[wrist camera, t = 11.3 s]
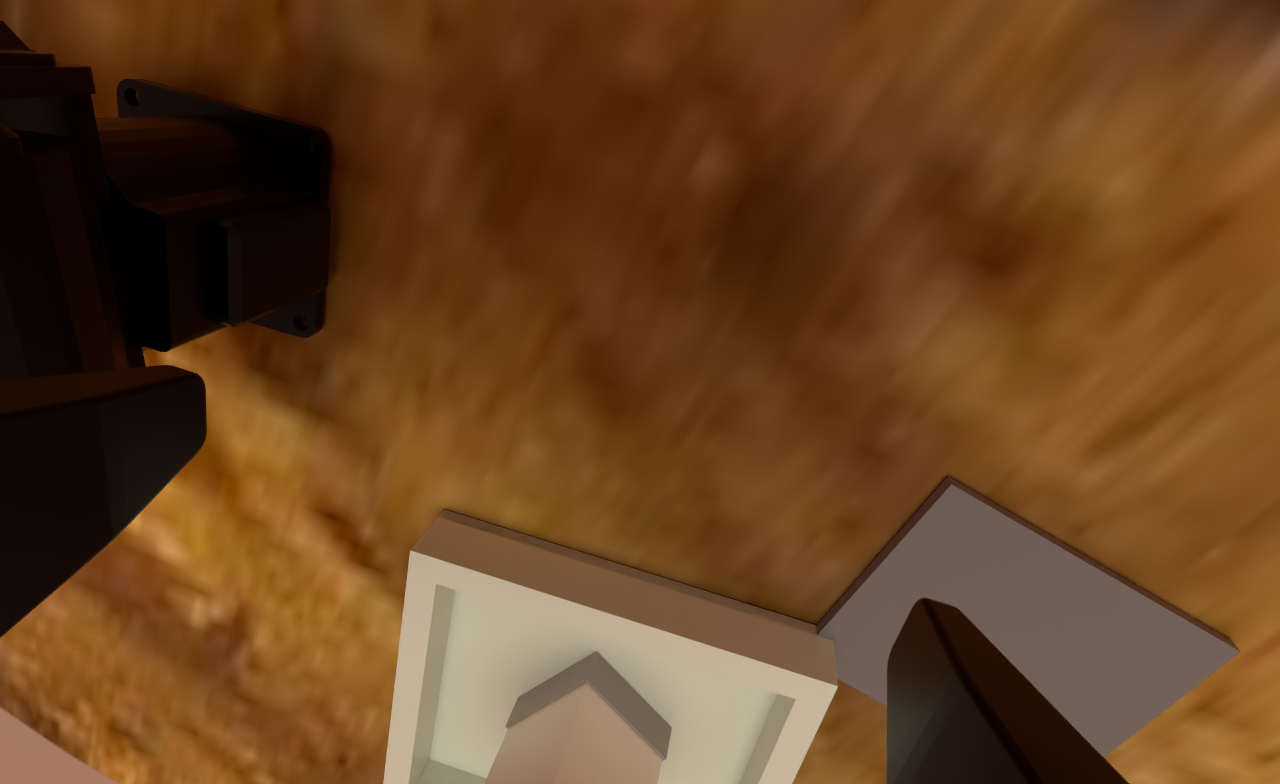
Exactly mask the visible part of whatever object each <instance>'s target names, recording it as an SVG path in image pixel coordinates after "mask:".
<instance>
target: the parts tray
mask: <svg viewBox="0 0 1280 784" xmlns="http://www.w3.org/2000/svg"><path fill="white" fill-rule="evenodd" d="M595 651H597V652H598V653H599V654H600V655H601V656H602V657H603V658H604V659H605V660H606V661H607V662H608V663H609V664H610V665H611V666H612V667H613V668H614V669H615V670H616V671H617V672H618V673H619V674H620V675H621V676H622V677H623V678H624V679H625V680H626V681H627V682H628V683H629V684H630V685H631V686H632V687H633V688H634V689H635V690H636V691H637V692H638V693H639V694H640V695H641V696H642V697H643V698H644V699H645V700H646V701H647V703H648V704H649V705H650V706H651V707H652V708H653V709H654V710H655V711H656V712H657V713H658V714H659V715H660V716H661V717H662V718H663V719H664V720H665V721H666V722H667V723H668V724H669V725H670V726H671V727H672V730H671V735H670V741H669V746H668V752H667V758H666V760H664V761H662V762H661V768H660V773H659V779H658V784H792V783H793V780H794V778H795V776H796V774H797V772H798V770H799V768H800V766H801V764H802V761H803V759H804V757H805V755H806V753H807V751H808V749H809V747H810V745H811V742H812V740H813V738H814V736H815V734H816V732H817V730H818V728H819V726H820V723H821V721H822V719H823V717H824V715H825V713H826V711H827V709H828V707H829V704H830V702H831V700H832V698H833V696H834V694H835V692H836V690H837V688H838V680H837V669H836V657H835V646H834V641H833V640H830V639H826V638H823V637H820V636H817V627H816V625H814V624H810V623H807V622H804V621H801V620H797V619H794V618H791V617H788V616H785V615H781V614H778V613H775V612H772V611H769V610H765V609H762V608H759V607H756V606H753V605H749V604H746V603H743V602H740V601H737V600H733V599H730V598H727V597H724V596H721V595H717V594H714V593H711V592H708V591H705V590H701V589H698V588H695V587H692V586H689V585H685V584H682V583H679V582H676V581H672V580H669V579H666V578H663V577H660V576H656V575H653V574H650V573H647V572H644V571H640V570H637V569H634V568H631V567H628V566H624V565H621V564H618V563H615V562H612V561H608V560H605V559H602V558H599V557H596V556H592V555H589V554H586V553H583V552H580V551H576V550H573V549H570V548H567V547H563V546H560V545H557V544H554V543H551V542H547V541H544V540H541V539H538V538H535V537H531V536H528V535H525V534H522V533H519V532H515V531H512V530H509V529H506V528H503V527H499V526H496V525H493V524H490V523H487V522H483V521H480V520H477V519H474V518H471V517H467V516H464V515H461V514H458V513H455V512H451V511H448V510H445V509H444V510H443V511H442V512H441V513H440V515H439V516H438V517H437V518H436V520H435V521H434V522H433V523H432V524H431V526H430V527H429V528H428V529H427V531H426V532H425V533H424V534H423V535H422V537H421V538H420V539H419V540H418V541H417V543H416V544H415V545H414V546H413V548H412V549H411V550H410V557H409V565H408V574H407V583H406V591H405V600H404V609H403V618H402V626H401V635H400V644H399V652H398V661H397V670H396V678H395V687H394V696H393V704H392V713H391V722H390V731H389V739H388V748H387V757H386V765H385V774H384V783H383V784H484V783H485V781H486V778H487V776H488V774H489V772H490V769H491V767H492V765H493V762H494V760H495V758H496V756H497V753H498V751H499V749H500V746H501V744H502V742H503V739H504V737H505V735H506V733H507V730H508V729H507V728H506V727H505V726H506V723H507V721H508V719H509V717H510V714H511V712H512V710H513V708H514V705H515V703H516V701H517V699H518V697H519V696H521V695H523V694H524V693H526V692H528V691H529V690H531V689H533V688H534V687H536V686H538V685H539V684H541V683H543V682H544V681H546V680H548V679H550V678H551V677H553V676H555V675H556V674H558V673H560V672H561V671H563V670H565V669H566V668H568V667H570V666H571V665H573V664H575V663H577V662H578V661H580V660H582V659H583V658H585V657H587V656H588V655H590V654H592V653H593V652H595Z"/></svg>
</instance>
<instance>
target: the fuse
mask: <svg viewBox="0 0 1280 784" xmlns="http://www.w3.org/2000/svg"><path fill="white" fill-rule="evenodd" d="M505 727H506V728H507V729H508V730H507V733H506V735H505V737H504V739H503V742H502V744H501V746H500V749H499V751H498V753H497V756H496V758H495V760H494V762H493V765H492V767H491V769H490V772H489V774H488V776H487V778H486V781H485V783H484V784H658V779H659V773H660V768H661V762H662V761H664V760H666V758H667V752H668V746H669V741H670V735H671V730H672V727H671V726H670V725H669V724H668V723H667V722H666V721H665V720H664V719H663V718H662V717H661V716H660V715H659V714H658V713H657V712H656V711H655V710H654V709H653V708H652V707H651V706H650V705H649V704H648V703H647V701H646V700H645V699H644V698H643V697H642V696H641V695H640V694H639V693H638V692H637V691H636V690H635V689H634V688H633V687H632V686H631V685H630V684H629V683H628V682H627V681H626V680H625V679H624V678H623V677H622V676H621V675H620V674H619V673H618V672H617V671H616V670H615V669H614V668H613V667H612V666H611V665H610V664H609V663H608V662H607V661H606V660H605V659H604V658H603V657H602V656H601V655H600V654H599V653H598V652H597V651H595V652H593V653H592V654H590V655H588V656H587V657H585V658H583V659H582V660H580V661H578V662H577V663H575V664H573V665H571V666H570V667H568V668H566V669H565V670H563V671H561V672H560V673H558V674H556V675H555V676H553V677H551V678H550V679H548V680H546V681H544V682H543V683H541V684H539V685H538V686H536V687H534V688H533V689H531V690H529V691H528V692H526V693H524V694H523V695H521V696H519V697H518V699H517V701H516V703H515V705H514V708H513V710H512V712H511V714H510V717H509V719H508V721H507V723H506V726H505Z"/></svg>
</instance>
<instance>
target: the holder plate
mask: <svg viewBox="0 0 1280 784" xmlns="http://www.w3.org/2000/svg"><path fill="white" fill-rule="evenodd" d="M921 598H929V599H932V600H936V601H939V602H942V603H946V604H949V605H952V606H955V607H956V608H958V609H959V610H960V611H961V612H962V613H963V614H964V615H965V616H966V617H967V618H968V619H969V620H970V621H971V622H972V623H973V624H974V625H975V626H976V627H977V628H978V629H979V630H980V631H981V632H982V633H983V634H984V635H985V636H986V637H987V638H988V639H989V640H990V641H991V642H992V643H993V644H994V645H995V647H996V648H997V649H998V650H999V651H1000V652H1001V653H1002V654H1003V655H1004V656H1005V657H1006V658H1007V659H1008V660H1009V661H1010V662H1011V663H1012V664H1013V665H1014V666H1015V667H1016V668H1017V669H1018V670H1019V671H1020V672H1021V673H1022V674H1023V675H1024V676H1025V677H1026V678H1027V679H1028V680H1029V681H1030V682H1031V683H1032V685H1033V686H1034V687H1035V688H1036V689H1037V690H1038V691H1039V692H1040V693H1041V694H1042V695H1043V696H1044V697H1045V698H1046V699H1047V700H1048V701H1049V702H1050V703H1051V704H1052V705H1053V706H1054V707H1055V708H1056V709H1057V710H1058V711H1059V712H1060V713H1061V714H1062V715H1063V716H1064V717H1065V718H1066V719H1067V720H1068V721H1069V723H1070V724H1071V725H1072V726H1073V727H1074V728H1075V729H1076V730H1077V731H1078V732H1079V733H1080V734H1081V735H1082V736H1083V737H1084V738H1085V739H1086V740H1087V741H1088V742H1089V743H1090V744H1091V745H1092V746H1093V747H1094V748H1095V749H1096V750H1097V751H1098V752H1099V753H1100V754H1101V755H1102V756H1103V757H1105V756H1106V755H1107V754H1109V753H1110V752H1111V751H1113V750H1114V749H1115V748H1117V747H1118V746H1119V745H1120V744H1122V743H1123V742H1124V741H1126V740H1127V739H1128V738H1130V737H1131V736H1132V735H1133V734H1135V733H1136V732H1137V731H1139V730H1140V729H1141V728H1143V727H1144V726H1145V725H1146V724H1148V723H1149V722H1150V721H1152V720H1153V719H1154V718H1156V717H1157V716H1158V715H1159V714H1161V713H1162V712H1163V711H1165V710H1166V709H1167V708H1168V707H1170V706H1171V705H1172V704H1174V703H1175V702H1176V701H1178V700H1179V699H1180V698H1181V697H1183V696H1184V695H1185V694H1187V693H1188V692H1189V691H1191V690H1192V689H1193V688H1194V687H1196V686H1197V685H1198V684H1200V683H1201V682H1202V681H1204V680H1205V679H1206V678H1207V677H1209V676H1210V675H1211V674H1213V673H1214V672H1215V671H1216V670H1218V669H1219V668H1220V667H1222V666H1223V665H1224V664H1226V663H1227V662H1228V661H1229V660H1231V659H1232V658H1233V657H1235V656H1236V655H1237V654H1239V653H1240V652H1241V651H1240V650H1239V649H1238V648H1237V647H1236V645H1235V644H1234V643H1233V642H1232V640H1230V639H1229V638H1227V637H1225V636H1223V635H1222V634H1220V633H1218V632H1216V631H1215V630H1213V629H1211V628H1210V627H1208V626H1206V625H1204V624H1203V623H1201V622H1199V621H1197V620H1196V619H1194V618H1192V617H1191V616H1189V615H1187V614H1185V613H1184V612H1182V611H1180V610H1178V609H1177V608H1175V607H1173V606H1172V605H1170V604H1168V603H1166V602H1165V601H1163V600H1161V599H1160V598H1158V597H1156V596H1154V595H1153V594H1151V593H1149V592H1147V591H1146V590H1144V589H1142V588H1141V587H1139V586H1137V585H1135V584H1134V583H1132V582H1130V581H1128V580H1127V579H1125V578H1123V577H1122V576H1120V575H1118V574H1116V573H1115V572H1113V571H1111V570H1109V569H1108V568H1106V567H1104V566H1103V565H1101V564H1099V563H1097V562H1096V561H1094V560H1092V559H1090V558H1089V557H1087V556H1085V555H1084V554H1082V553H1080V552H1078V551H1077V550H1075V549H1073V548H1071V547H1070V546H1068V545H1066V544H1065V543H1063V542H1061V541H1059V540H1058V539H1056V538H1054V537H1052V536H1051V535H1049V534H1047V533H1046V532H1044V531H1042V530H1040V529H1039V528H1037V527H1035V526H1034V525H1032V524H1030V523H1028V522H1027V521H1025V520H1023V519H1021V518H1020V517H1018V516H1016V515H1015V514H1013V513H1011V512H1009V511H1008V510H1006V509H1004V508H1002V507H1001V506H999V505H997V504H996V503H994V502H992V501H990V500H989V499H987V498H985V497H983V496H982V495H980V494H978V493H977V492H975V491H973V490H971V489H970V488H968V487H966V486H964V485H963V484H961V483H959V482H958V481H956V480H954V479H952V478H951V477H949V476H948V477H947V478H946V479H945V480H944V481H943V482H942V483H941V484H940V486H939V487H938V488H937V489H936V490H935V491H934V492H933V494H932V495H931V496H930V497H929V498H928V499H927V500H926V501H925V503H924V504H923V505H922V506H921V507H920V508H919V509H918V511H917V512H916V513H915V514H914V515H913V516H912V517H911V519H910V520H909V521H908V522H907V523H906V524H905V525H904V526H903V528H902V529H901V530H900V531H899V532H898V533H897V534H896V536H895V537H894V538H893V539H892V540H891V541H890V542H889V544H888V545H887V546H886V547H885V548H884V549H883V550H882V551H881V553H880V554H879V555H878V556H877V557H876V558H875V559H874V561H873V562H872V563H871V564H870V565H869V566H868V567H867V569H866V570H865V571H864V572H863V573H862V574H861V575H860V576H859V578H858V579H857V580H856V581H855V582H854V583H853V584H852V586H851V587H850V588H849V589H848V590H847V591H846V592H845V593H844V595H843V596H842V597H841V598H840V599H839V600H838V601H837V603H836V604H835V605H834V606H833V607H832V608H831V609H830V611H829V612H828V613H827V614H826V615H825V616H824V617H823V618H822V620H821V621H820V622H819V623H818V624H817V625H816V627H817V636H820V637H823V638H826V639H830V640H833V641H834V646H835V657H836V669H837V679H839V680H841V681H843V682H844V683H846V684H848V685H850V686H851V687H853V688H855V689H857V690H858V691H860V692H862V693H864V694H865V695H867V696H869V697H871V698H873V699H874V700H876V701H878V702H880V703H881V704H883V705H885V706H887V664H888V658H889V654H890V651H891V649H892V646H893V644H894V643H895V641H896V639H897V637H898V635H899V633H900V631H901V629H902V627H903V625H904V623H905V621H906V619H907V617H908V615H909V613H910V611H911V609H912V607H913V605H914V604H915V603H916V602H917V601H918V600H919V599H921Z"/></svg>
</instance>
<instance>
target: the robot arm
mask: <svg viewBox="0 0 1280 784" xmlns="http://www.w3.org/2000/svg"><path fill="white" fill-rule="evenodd" d="M136 91H137V93H138V94H139V96H140V103H139V102H138V101H137V98H136ZM95 93H96V90H95V85H94V80H93V75H92V70H91V67H89V66H80V65H70V64H60V63H56V61H55V56H54V54H49V53H41V52H36V51H34V50H30V49H29V48H28V47H27V46H26V45H25V44H24V43H23V42H22V41H21V40H20V39H19V38H18V37H17V36H16V34H15V33H14V32H13V31H12V30H11V29H10V28H9V27H8V26H7V25H6V24H5V23H4V22H3V21H0V638H1V637H2V636H3V635H4V634H5V633H7V632H8V631H9V630H10V629H11V628H12V627H13V626H15V625H16V624H17V623H18V622H19V621H20V620H22V619H23V618H24V617H25V616H26V615H27V614H29V613H30V612H31V611H32V610H33V609H34V608H36V607H37V606H38V605H39V604H40V603H41V602H42V601H44V600H45V599H46V598H47V597H48V596H49V595H51V594H52V593H53V592H54V591H55V590H56V589H58V588H59V587H60V586H61V585H62V584H63V583H65V582H66V581H67V580H68V579H69V578H70V577H72V576H73V575H74V574H75V573H76V572H77V571H78V570H80V569H81V568H82V567H83V566H84V565H85V564H87V563H88V562H89V561H90V560H91V559H92V558H94V557H95V556H96V555H97V554H98V553H99V552H100V551H101V550H103V549H104V548H105V547H106V546H107V545H108V544H109V543H110V542H111V541H113V540H114V539H115V538H116V537H117V536H118V535H119V534H120V533H121V532H122V531H123V530H124V529H125V528H126V527H127V526H128V525H129V524H130V523H131V522H132V521H133V520H134V518H135V517H136V516H137V515H138V514H139V513H140V512H141V511H142V510H143V509H144V508H145V507H146V506H147V505H148V504H149V503H150V502H151V501H152V500H153V499H154V498H155V497H156V496H157V495H158V494H159V492H160V491H161V490H162V489H163V488H164V487H165V486H166V485H167V484H168V483H169V482H170V481H171V480H172V479H173V478H174V477H175V476H176V475H177V474H178V473H179V472H180V471H181V470H182V469H183V468H184V466H185V465H186V464H187V463H188V462H189V461H190V460H191V459H192V458H193V457H194V456H195V455H196V454H197V453H198V452H199V450H200V449H201V447H202V446H203V444H204V441H205V438H206V434H207V421H206V388H205V383H204V381H203V379H202V378H201V377H200V376H199V375H198V374H196V373H193V372H190V371H187V370H184V369H181V368H177V367H174V366H169V365H160V366H149V367H146V365H145V360H144V355H143V351H146V350H148V349H154V350H157V351H160V352H167V351H170V350H172V349H174V348H177V347H179V346H182V345H184V344H186V343H189V342H191V341H194V340H196V339H198V338H201V337H203V336H205V335H208V334H210V333H213V332H215V331H217V330H220V329H222V328H225V327H227V326H231V327H238V326H240V325H243V324H245V323H247V322H250V323H254V324H257V325H260V326H264V327H267V328H271V329H274V330H277V331H281V332H284V333H287V334H291V335H294V336H298V337H302V338H307V337H310V336H312V335H314V334H316V333H318V332H319V331H320V330H321V329H322V325H323V307H324V288H325V287H327V285H328V267H329V245H330V224H331V210H330V207H329V205H328V194H329V171H330V149H331V148H330V141H329V139H328V137H327V135H326V134H325V133H324V132H323V131H322V130H321V129H320V128H318V127H316V126H312V125H309V124H305V123H301V122H298V121H294V120H290V119H287V118H283V117H279V116H276V115H272V114H268V113H264V112H261V111H257V110H253V109H250V108H246V107H242V106H239V105H235V104H231V103H228V102H224V101H220V100H217V99H213V98H209V97H205V96H202V95H198V94H194V93H191V92H187V91H183V90H180V89H176V88H172V87H169V86H165V85H161V84H158V83H154V82H150V81H147V80H143V79H124V80H122V81H121V82H120V83H119V85H118V87H117V101H118V115H119V118H99V119H95V114H94V109H93V104H92V99H91V94H95ZM308 137H310V138H311V139H312V141H313V142H314V147H315V148H314V151H313V152H311V151H310V150H309V148H308V147H307V143H306V141H307V138H308ZM301 316H303V317H305V318H306V320H307V321H308V326H306V325H304V323H303V322H302V319H301ZM886 784H1129V783H1128V782H1127V781H1126V780H1125V779H1124V778H1123V777H1122V776H1121V775H1120V774H1119V773H1118V772H1117V771H1116V770H1115V769H1114V768H1113V767H1112V766H1111V765H1110V764H1109V763H1108V762H1107V761H1106V759H1105V758H1104V757H1103V756H1102V755H1101V754H1100V753H1099V752H1098V751H1097V750H1096V749H1095V748H1094V747H1093V746H1092V745H1091V744H1090V743H1089V742H1088V741H1087V740H1086V739H1085V738H1084V737H1083V736H1082V735H1081V734H1080V733H1079V732H1078V731H1077V730H1076V729H1075V728H1074V727H1073V726H1072V725H1071V724H1070V723H1069V721H1068V720H1067V719H1066V718H1065V717H1064V716H1063V715H1062V714H1061V713H1060V712H1059V711H1058V710H1057V709H1056V708H1055V707H1054V706H1053V705H1052V704H1051V703H1050V702H1049V701H1048V700H1047V699H1046V698H1045V697H1044V696H1043V695H1042V694H1041V693H1040V692H1039V691H1038V690H1037V689H1036V688H1035V687H1034V686H1033V685H1032V683H1031V682H1030V681H1029V680H1028V679H1027V678H1026V677H1025V676H1024V675H1023V674H1022V673H1021V672H1020V671H1019V670H1018V669H1017V668H1016V667H1015V666H1014V665H1013V664H1012V663H1011V662H1010V661H1009V660H1008V659H1007V658H1006V657H1005V656H1004V655H1003V654H1002V653H1001V652H1000V651H999V650H998V649H997V648H996V647H995V645H994V644H993V643H992V642H991V641H990V640H989V639H988V638H987V637H986V636H985V635H984V634H983V633H982V632H981V631H980V630H979V629H978V628H977V627H976V626H975V625H974V624H973V623H972V622H971V621H970V620H969V619H968V618H967V617H966V616H965V615H964V614H963V613H962V612H961V611H960V610H959V609H958V608H956V607H955V606H952V605H949V604H946V603H942V602H939V601H936V600H932V599H929V598H921V599H919V600H918V601H917V602H916V603H915V604H914V605H913V607H912V609H911V611H910V613H909V615H908V617H907V619H906V621H905V623H904V625H903V627H902V629H901V631H900V633H899V635H898V637H897V639H896V641H895V643H894V644H893V646H892V649H891V651H890V654H889V658H888V664H887V734H886Z"/></svg>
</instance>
